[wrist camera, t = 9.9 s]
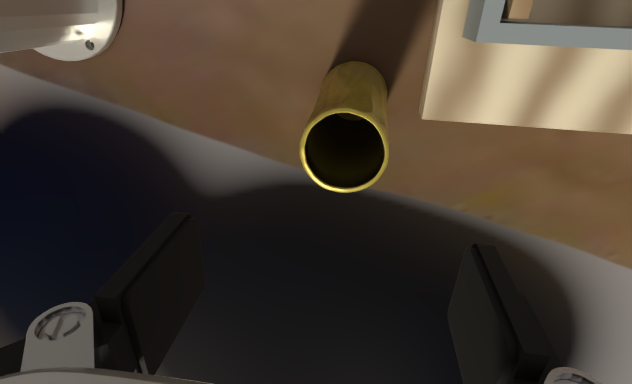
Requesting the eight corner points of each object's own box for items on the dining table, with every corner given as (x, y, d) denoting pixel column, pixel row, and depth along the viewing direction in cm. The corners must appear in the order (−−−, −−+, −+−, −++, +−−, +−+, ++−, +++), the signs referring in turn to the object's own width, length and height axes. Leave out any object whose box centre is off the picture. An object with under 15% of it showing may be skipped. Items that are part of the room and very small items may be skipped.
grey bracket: (461, 36, 27) (475, 42, 24) (475, -29, 25) (492, -33, 22) (669, 47, 26) (717, 54, 22) (701, -22, 24) (758, -25, 20)
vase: (361, 45, 31) (356, 75, 18) (400, 102, 33) (419, 165, 20) (307, 89, 33) (269, 141, 21) (346, 140, 35) (333, 217, 23)
